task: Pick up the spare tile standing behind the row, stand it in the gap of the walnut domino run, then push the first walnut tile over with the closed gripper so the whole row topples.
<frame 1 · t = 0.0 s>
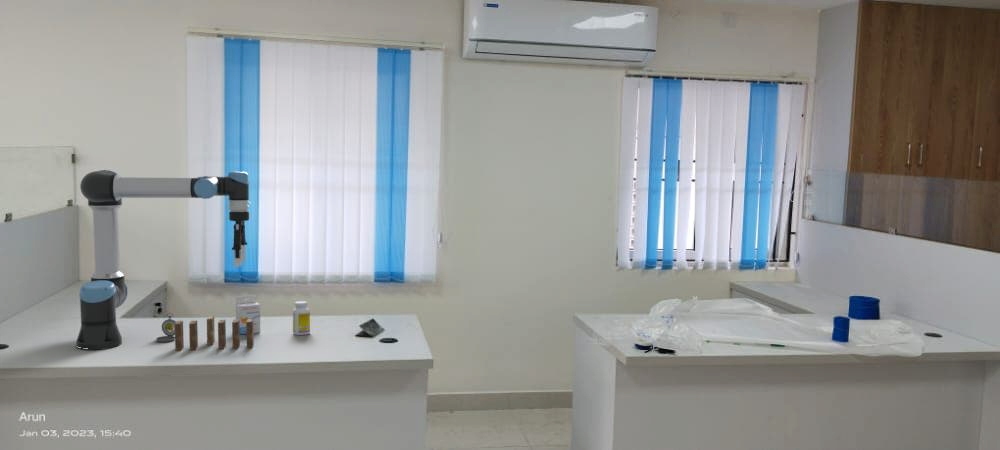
hand: (240, 263, 315), 28 cm above the worktop, fingers open, 13 cm apart
domino 4: (222, 347, 294), on the worktop
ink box: (248, 332, 318), on the worktop
spare tile: (211, 343, 300), on the worktop
supplement bottle: (301, 334, 317), on the worktop
domino 6: (250, 346, 296), on the worktop
domino 1: (179, 349, 291), on the worktop
domino 5: (236, 347, 295), on the worktop
pocket watch: (167, 340, 304), on the worktop
domino 2: (193, 348, 292), on the worktop
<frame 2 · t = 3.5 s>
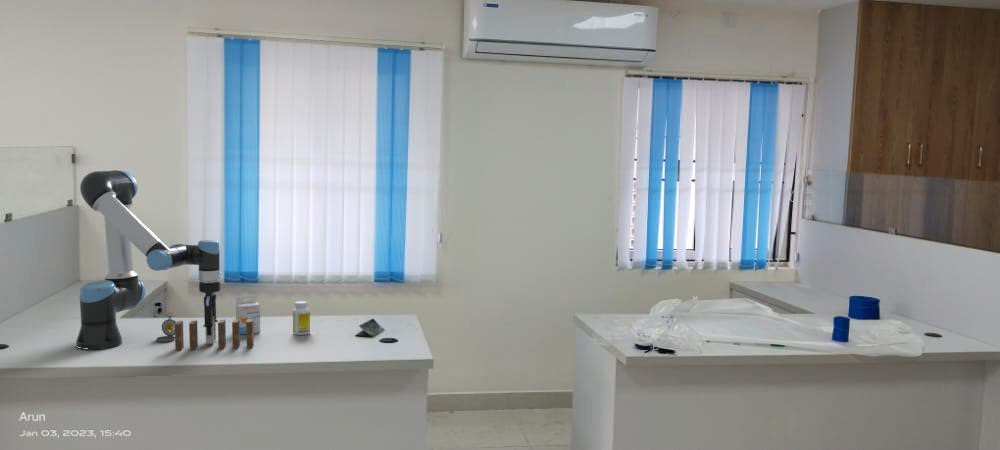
hand: (210, 341, 300), 1 cm above the worktop, fingers closed on spare tile, 5 cm apart
spare tile: (211, 343, 300), on the worktop, touching gripper
everything else where it was.
when the fingers open (2 cm above the worktop, at t = 7.9 s): spare tile stays where it is, on the worktop.
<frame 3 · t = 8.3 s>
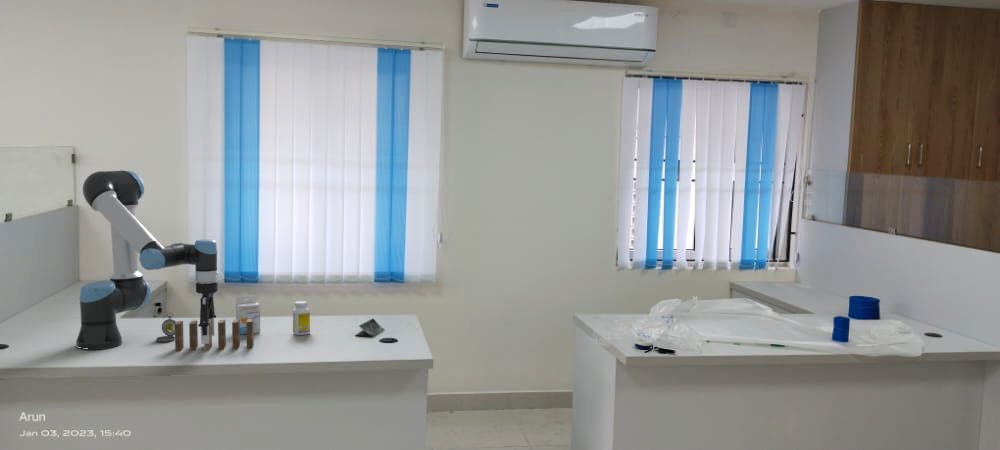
hand: (207, 339, 293), 3 cm above the worktop, fingers open, 11 cm apart
spare tile: (208, 348, 293), on the worktop
everything else where it was.
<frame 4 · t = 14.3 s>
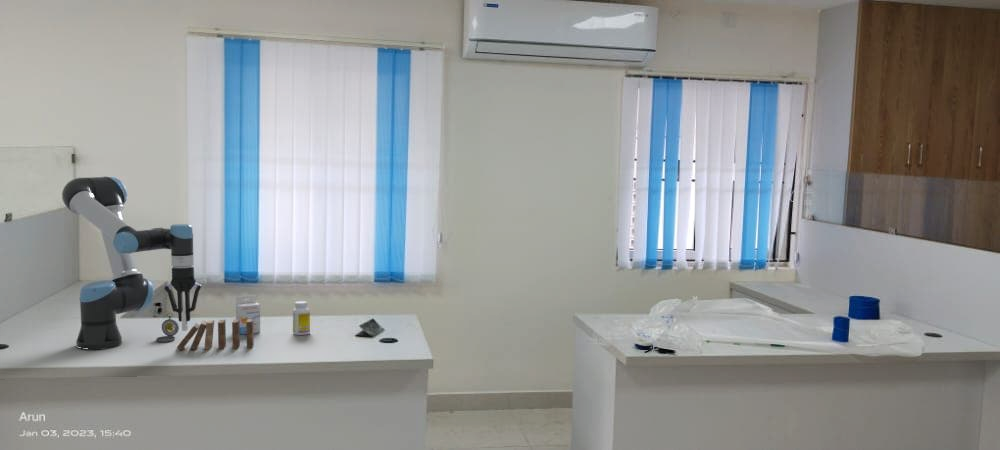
hand: (184, 329, 290), 7 cm above the worktop, fingers closed
spare tile: (208, 347, 293), on the worktop, tilted 6°
domino 1: (180, 347, 291), point 1 cm above the worktop, tilted 38°
domino 2: (194, 347, 292), on the worktop, tilted 23°
everything else where it was.
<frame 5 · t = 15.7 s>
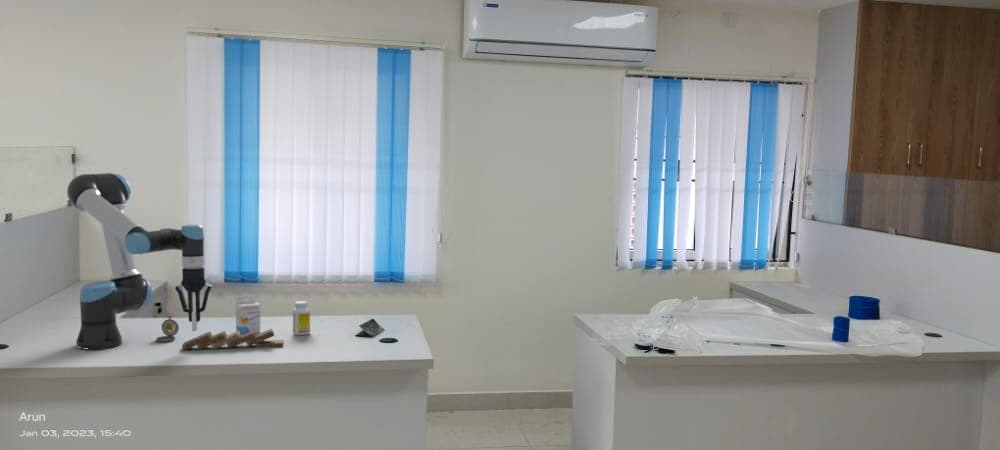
hand: (194, 330, 291), 7 cm above the worktop, fingers closed
domino 4: (228, 344, 295), point 1 cm above the worktop, tilted 69°, touching spare tile
spare tile: (213, 345, 293), point 1 cm above the worktop, tilted 67°, touching domino 2, domino 4
domino 6: (255, 345, 297), on the worktop, tilted 90°
domino 1: (184, 346, 291), point 1 cm above the worktop, tilted 67°, touching domino 2
domino 5: (247, 342, 296), point 1 cm above the worktop, tilted 70°
domino 2: (199, 345, 292), point 1 cm above the worktop, tilted 67°, touching domino 1, spare tile
everything else where it was.
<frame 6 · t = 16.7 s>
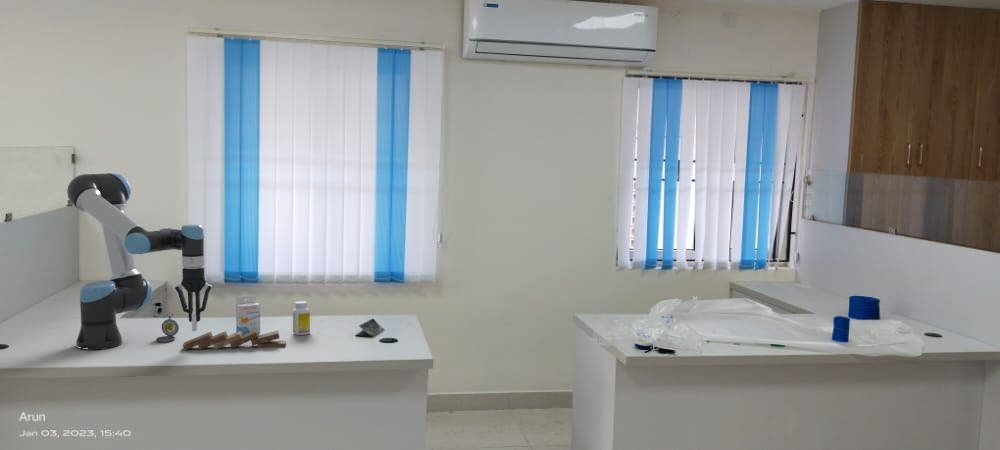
hand: (194, 330, 291), 7 cm above the worktop, fingers closed
domino 4: (232, 344, 295), point 1 cm above the worktop, tilted 66°, touching spare tile
spare tile: (215, 345, 293), point 1 cm above the worktop, tilted 68°, touching domino 4
domino 5: (251, 341, 296), point 2 cm above the worktop, tilted 77°
domino 2: (199, 345, 292), point 1 cm above the worktop, tilted 68°, touching domino 1
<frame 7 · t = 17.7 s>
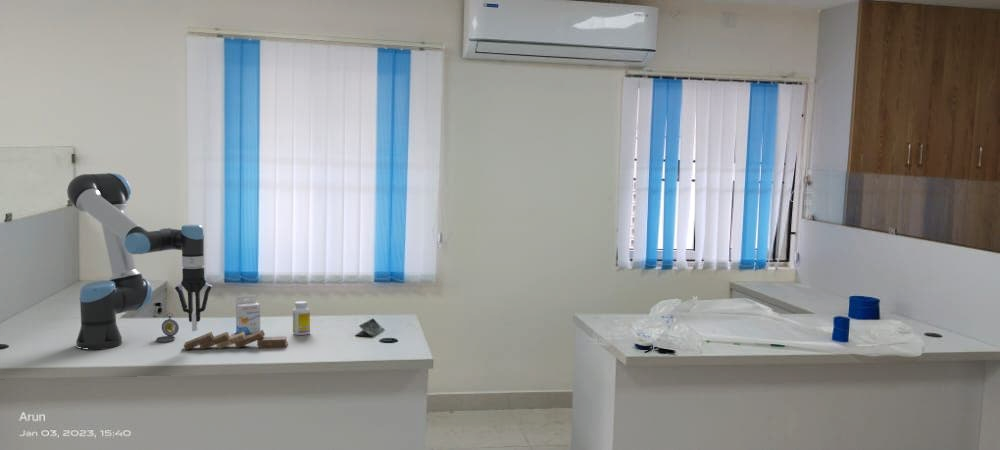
hand: (194, 330, 291), 7 cm above the worktop, fingers closed
domino 4: (237, 344, 295), point 1 cm above the worktop, tilted 67°, touching domino 5, spare tile
spare tile: (218, 345, 294), point 1 cm above the worktop, tilted 70°, touching domino 4
domino 6: (259, 346, 296), on the worktop, tilted 90°, touching domino 5
domino 5: (258, 341, 296), point 2 cm above the worktop, tilted 89°, touching domino 4, domino 6
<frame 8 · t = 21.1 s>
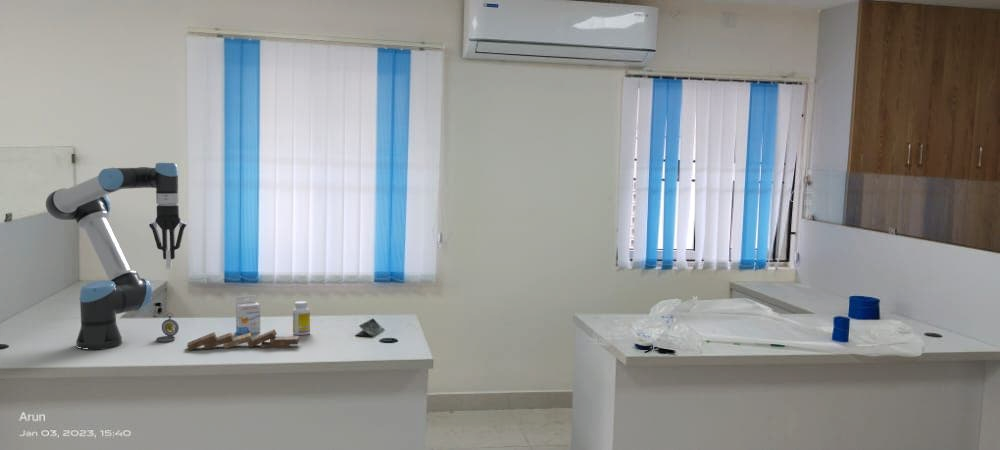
hand: (169, 267, 293), 29 cm above the worktop, fingers closed
domino 4: (249, 344, 296), point 1 cm above the worktop, tilted 66°, touching domino 5, spare tile
spare tile: (224, 344, 295), point 1 cm above the worktop, tilted 76°, touching domino 4
domino 6: (261, 346, 296), on the worktop, tilted 90°
domino 1: (188, 346, 291), point 1 cm above the worktop, tilted 70°, touching domino 2
domino 5: (271, 340, 296), point 2 cm above the worktop, tilted 90°, touching domino 4
domino 2: (204, 345, 293), point 1 cm above the worktop, tilted 73°, touching domino 1
everything else where it was.
at the end: domino 6 tilted 90°; spare tile tilted 76°; the gripper is holding nothing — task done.
